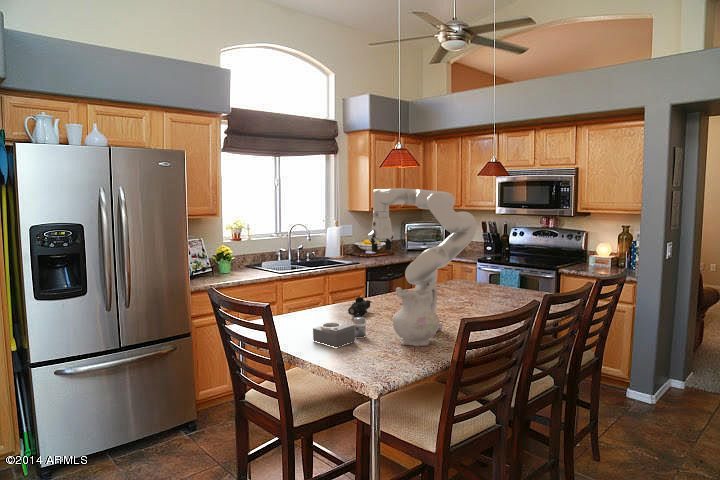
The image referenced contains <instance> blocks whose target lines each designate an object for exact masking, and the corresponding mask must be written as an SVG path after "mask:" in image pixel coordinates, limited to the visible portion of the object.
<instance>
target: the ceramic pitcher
mask: <svg viewBox="0 0 720 480" xmlns="http://www.w3.org/2000/svg"><path fill="white" fill-rule="evenodd" d="M431 291H432V293H431ZM395 294H396V296H397V297H398V298H400V299H401V305H402V306H401V308H400V309H399V310H398V311H396V312H395V313H394V314H393V316H392V326H393V329H394V331H395V333H396V334H397V336H398V337H399V338H401V339H402V340H401V341H400V342H401V343H400V342H399V345H405V346H406V345H408V346H413V347H423V346H428V345H429V344H430V342H431V341H430V340H429V339H431V338H433V337H434V336H435V335H436V333H437V332H438V331H439V330H438V328H439V324H440V317H439V316H438V314H437V312H436V313H435V312H434V308H435V305H436V306H437V304H436V303H437V300H438V289H437V286H436V287H435V285H434V284H433V282H428V283H427V288H426V289H425V290H417V291H415V290H409V289H407V288H405V289H403V288H402V287H398V286H397V287H396V288H395ZM431 297H433V298H432V302H431V306H429V303H430V300H431ZM437 330H438V331H437Z"/></svg>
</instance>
